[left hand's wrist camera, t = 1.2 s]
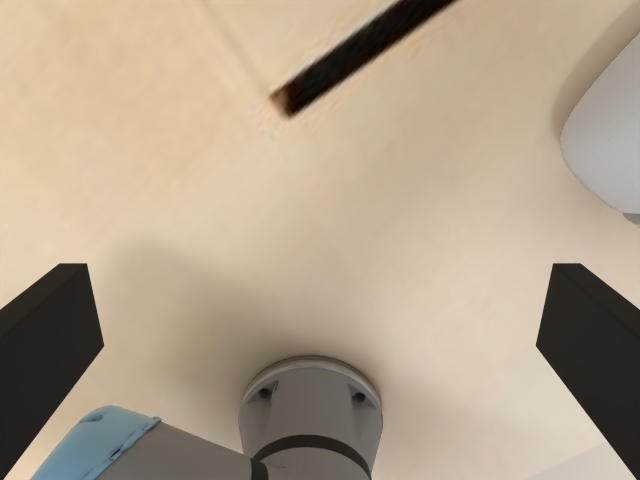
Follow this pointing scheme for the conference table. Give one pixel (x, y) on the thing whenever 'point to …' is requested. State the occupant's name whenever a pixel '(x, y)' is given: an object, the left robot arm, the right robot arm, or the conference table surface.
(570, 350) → the left robot arm
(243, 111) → the conference table surface
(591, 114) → the projector
